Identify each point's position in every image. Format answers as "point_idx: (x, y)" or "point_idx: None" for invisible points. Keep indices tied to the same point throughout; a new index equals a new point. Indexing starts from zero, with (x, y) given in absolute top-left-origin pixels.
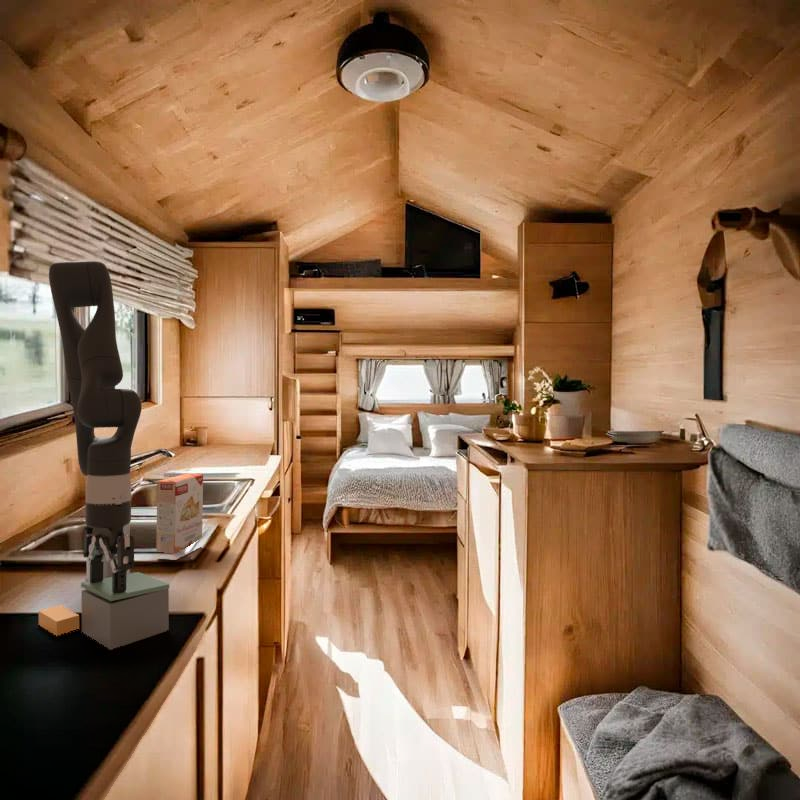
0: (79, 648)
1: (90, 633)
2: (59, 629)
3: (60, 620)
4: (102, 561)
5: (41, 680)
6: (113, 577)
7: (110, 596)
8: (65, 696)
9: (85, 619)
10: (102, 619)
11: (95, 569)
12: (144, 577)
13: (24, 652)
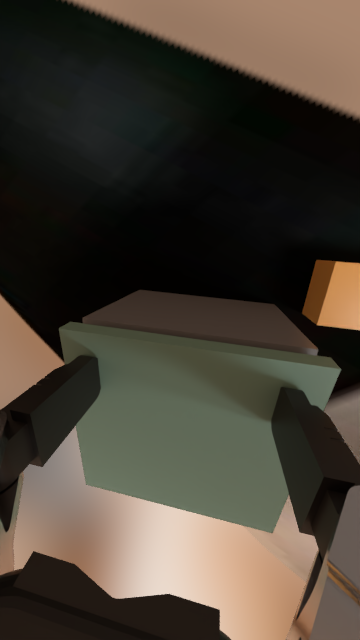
0: (198, 255)
1: (228, 301)
2: (321, 268)
3: (332, 273)
4: (309, 532)
5: (107, 113)
6: (39, 394)
7: (63, 328)
8: (9, 120)
9: (260, 312)
10: (156, 307)
11: (299, 453)
12: (196, 501)
13: (295, 151)
